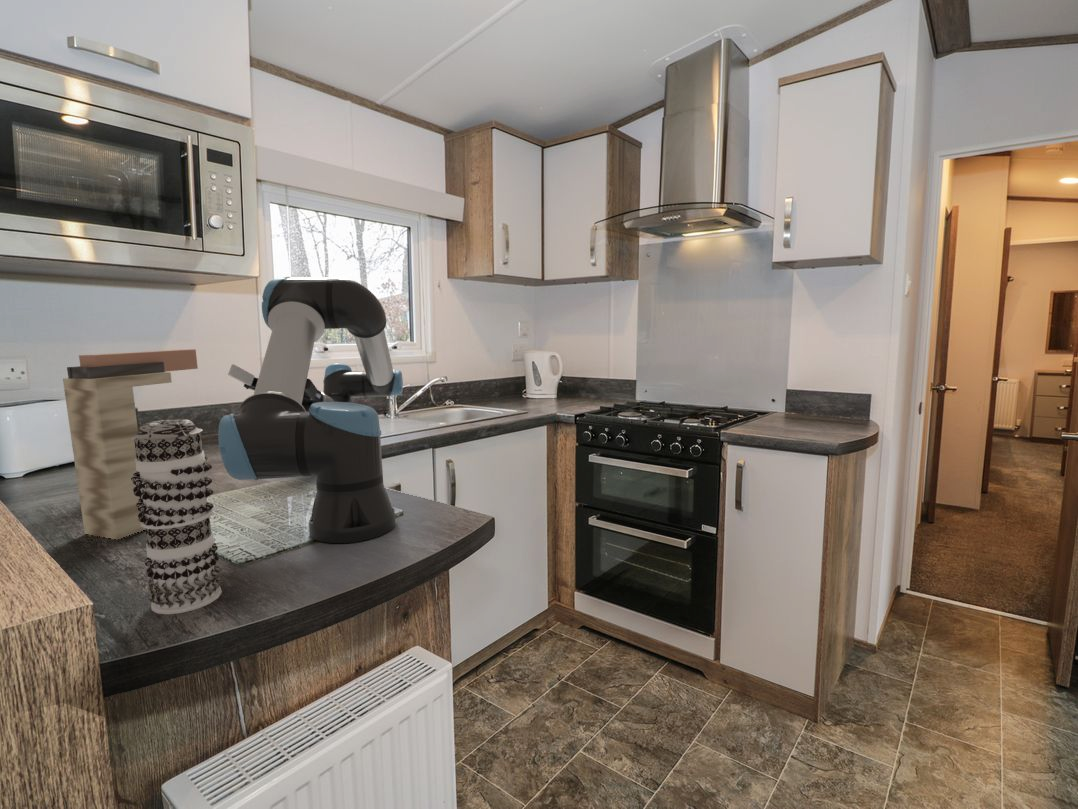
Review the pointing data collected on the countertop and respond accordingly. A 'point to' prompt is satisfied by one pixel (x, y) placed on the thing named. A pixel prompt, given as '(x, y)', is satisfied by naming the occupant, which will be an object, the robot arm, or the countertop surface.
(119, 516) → the shelf stand
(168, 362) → the reddish brown bar
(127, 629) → the countertop surface
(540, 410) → the countertop surface
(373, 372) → the robot arm
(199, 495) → the decorative candle
